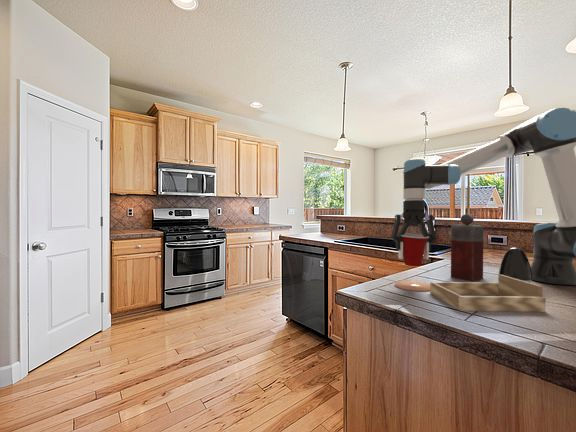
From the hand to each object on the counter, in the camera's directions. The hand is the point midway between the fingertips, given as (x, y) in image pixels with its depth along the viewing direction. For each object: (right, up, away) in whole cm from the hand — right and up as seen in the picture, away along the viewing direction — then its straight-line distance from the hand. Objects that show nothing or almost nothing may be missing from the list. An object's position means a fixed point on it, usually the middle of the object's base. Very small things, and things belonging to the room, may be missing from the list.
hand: (413, 258), depth 108 cm
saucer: (0, -11, 0) cm, 11 cm away
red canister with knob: (+29, -11, +13) cm, 34 cm away
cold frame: (+14, -11, -18) cm, 25 cm away
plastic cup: (0, -3, 0) cm, 3 cm away
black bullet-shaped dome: (+40, -11, +1) cm, 42 cm away
